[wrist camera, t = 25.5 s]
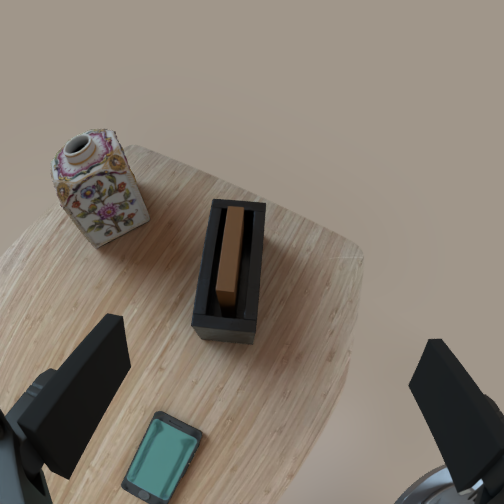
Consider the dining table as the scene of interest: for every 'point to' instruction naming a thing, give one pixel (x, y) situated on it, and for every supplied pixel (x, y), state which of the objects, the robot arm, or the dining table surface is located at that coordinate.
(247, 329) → the black open box
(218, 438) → the dining table surface
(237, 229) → the thin brown wooden plank
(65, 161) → the decorative jar
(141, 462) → the smartphone
